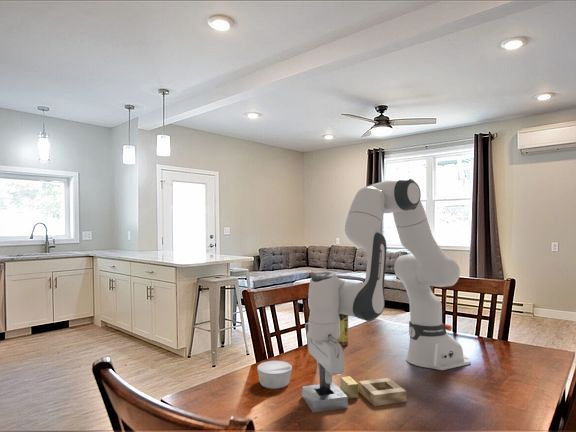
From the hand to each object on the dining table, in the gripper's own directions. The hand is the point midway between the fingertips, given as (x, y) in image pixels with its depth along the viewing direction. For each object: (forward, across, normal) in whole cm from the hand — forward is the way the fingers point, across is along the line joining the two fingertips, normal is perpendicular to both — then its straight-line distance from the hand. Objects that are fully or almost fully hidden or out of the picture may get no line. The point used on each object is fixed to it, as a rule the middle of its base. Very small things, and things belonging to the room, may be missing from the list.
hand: (325, 379), depth 111 cm
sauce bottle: (+7, +49, -25) cm, 55 cm away
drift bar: (+6, +3, -8) cm, 11 cm away
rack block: (+6, -1, -17) cm, 18 cm away
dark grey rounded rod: (+5, 0, 0) cm, 5 cm away
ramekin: (+7, +17, +11) cm, 21 cm away
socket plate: (+6, 0, 0) cm, 6 cm away
